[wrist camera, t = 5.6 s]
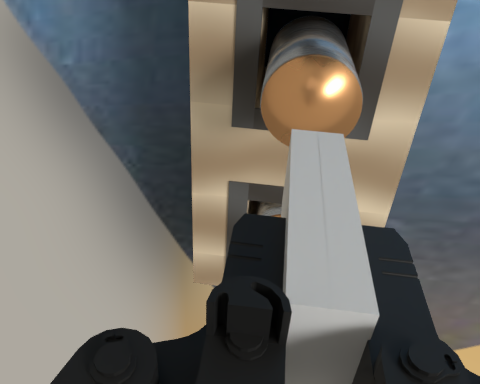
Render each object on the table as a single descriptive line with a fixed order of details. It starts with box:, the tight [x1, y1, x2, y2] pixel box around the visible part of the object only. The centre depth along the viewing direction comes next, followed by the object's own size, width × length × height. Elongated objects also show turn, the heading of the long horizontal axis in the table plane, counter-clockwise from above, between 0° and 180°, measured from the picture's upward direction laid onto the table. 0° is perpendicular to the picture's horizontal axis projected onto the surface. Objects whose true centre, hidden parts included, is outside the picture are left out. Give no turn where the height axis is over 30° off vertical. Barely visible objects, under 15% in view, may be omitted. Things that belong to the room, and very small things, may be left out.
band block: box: [188, 0, 457, 286], centre depth 26 cm, size 22×12×7 cm, turn 177°
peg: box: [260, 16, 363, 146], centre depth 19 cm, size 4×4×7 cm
